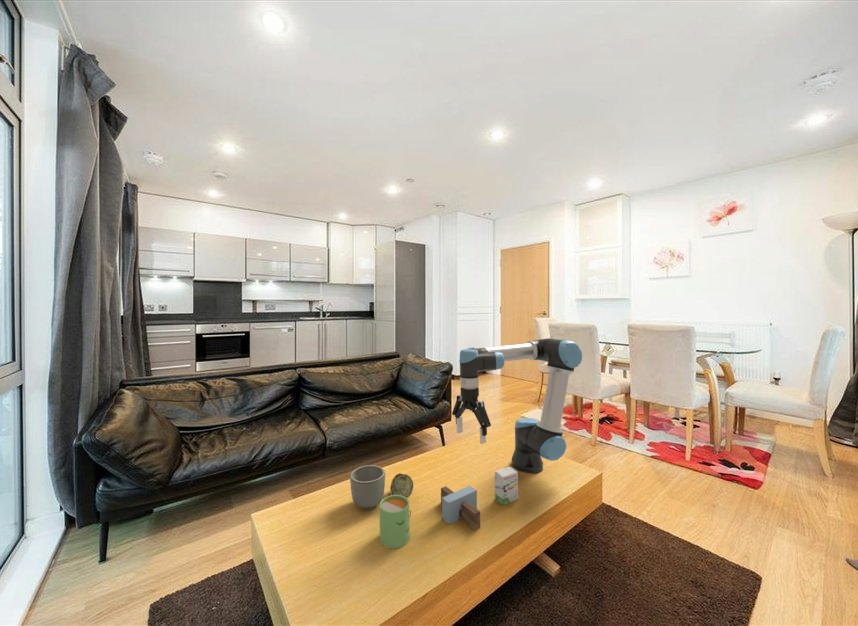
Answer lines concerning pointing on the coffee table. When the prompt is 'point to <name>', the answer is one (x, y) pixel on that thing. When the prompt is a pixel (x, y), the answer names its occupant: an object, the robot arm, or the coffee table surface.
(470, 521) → the walnut rail
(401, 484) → the seashell
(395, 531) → the mug
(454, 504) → the blue rectangular block
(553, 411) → the robot arm
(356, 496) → the planter
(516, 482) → the ink box
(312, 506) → the coffee table surface
